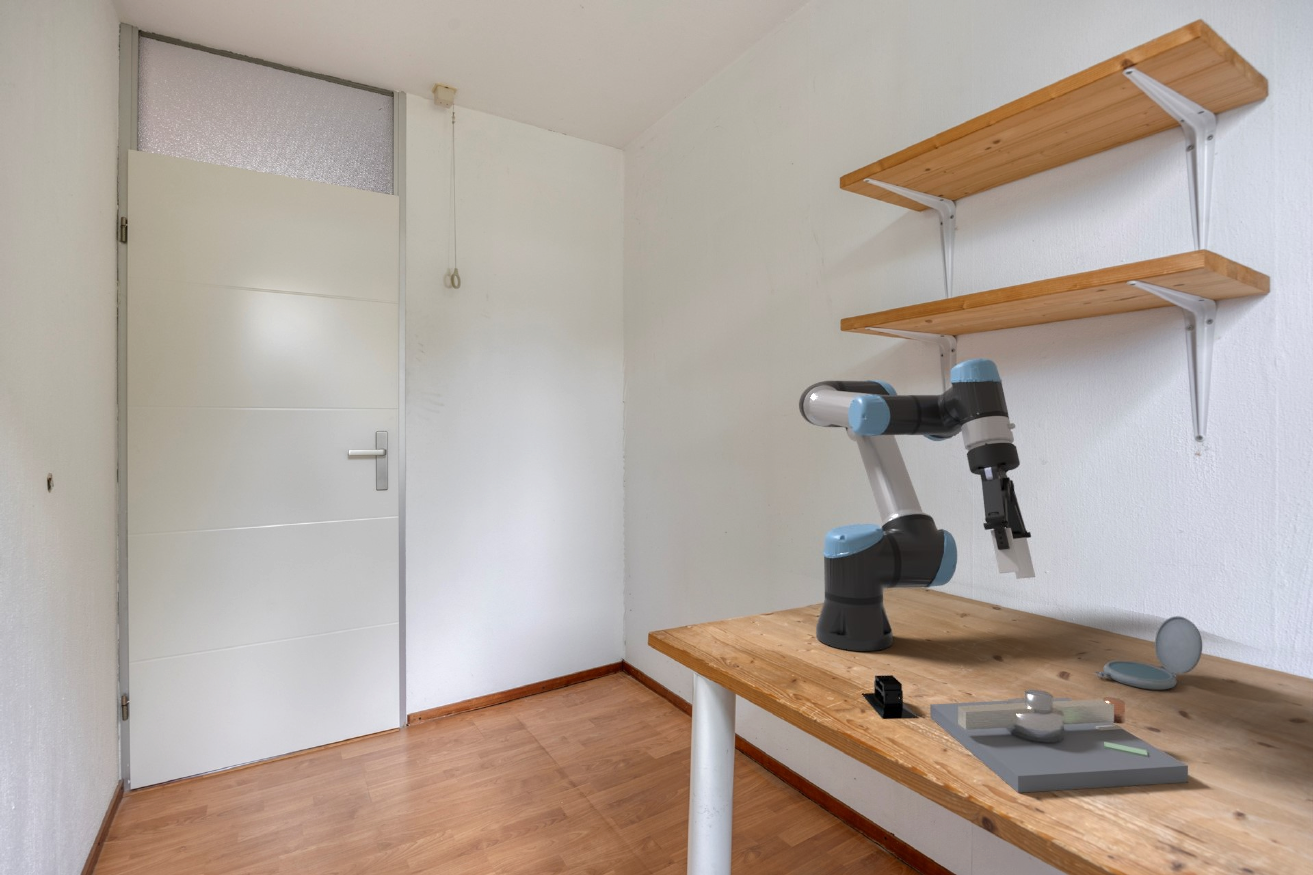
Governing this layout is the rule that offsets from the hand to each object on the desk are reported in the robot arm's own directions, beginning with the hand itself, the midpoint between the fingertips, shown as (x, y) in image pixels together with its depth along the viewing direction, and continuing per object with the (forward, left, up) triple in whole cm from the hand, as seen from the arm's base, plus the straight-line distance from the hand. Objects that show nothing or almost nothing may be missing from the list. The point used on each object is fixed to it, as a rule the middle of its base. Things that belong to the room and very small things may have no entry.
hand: (1018, 575), depth 100 cm
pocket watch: (-6, +27, -20) cm, 34 cm away
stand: (+14, -6, -20) cm, 25 cm away
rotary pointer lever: (+14, -6, -18) cm, 23 cm away
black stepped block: (-1, -21, -21) cm, 30 cm away
